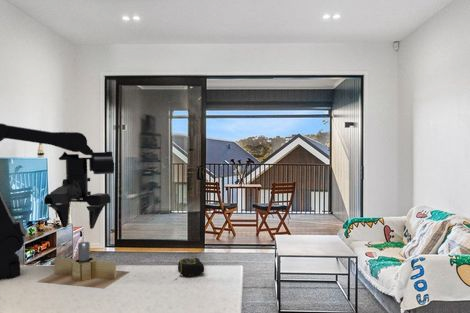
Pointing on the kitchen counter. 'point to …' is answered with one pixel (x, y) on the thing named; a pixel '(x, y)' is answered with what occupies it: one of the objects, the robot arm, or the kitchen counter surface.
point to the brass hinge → (85, 269)
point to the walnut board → (87, 283)
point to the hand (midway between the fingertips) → (78, 228)
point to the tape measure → (190, 266)
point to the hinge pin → (84, 252)
